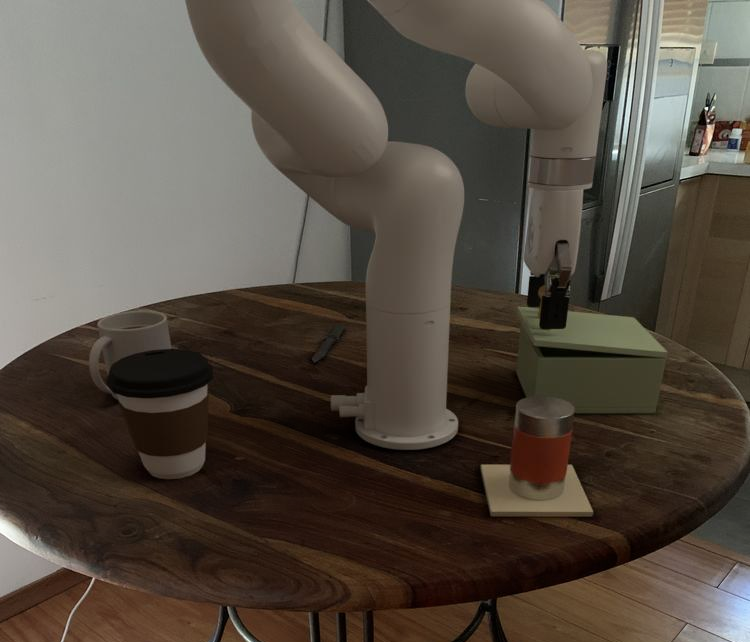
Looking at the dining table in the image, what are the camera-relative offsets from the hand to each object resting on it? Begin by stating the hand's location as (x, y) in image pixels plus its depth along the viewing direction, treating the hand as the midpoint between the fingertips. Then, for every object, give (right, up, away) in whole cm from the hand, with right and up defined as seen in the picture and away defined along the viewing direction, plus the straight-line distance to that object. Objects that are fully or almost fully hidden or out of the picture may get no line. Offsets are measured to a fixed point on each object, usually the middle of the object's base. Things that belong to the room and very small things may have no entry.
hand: (545, 316), depth 95 cm
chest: (+6, -9, +5) cm, 12 cm away
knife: (-29, +1, +23) cm, 38 cm away
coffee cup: (-44, -20, -13) cm, 50 cm away
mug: (-55, -9, +7) cm, 56 cm away
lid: (+6, -2, +1) cm, 6 cm away
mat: (-6, -23, -18) cm, 30 cm away
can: (-5, -22, -19) cm, 30 cm away
